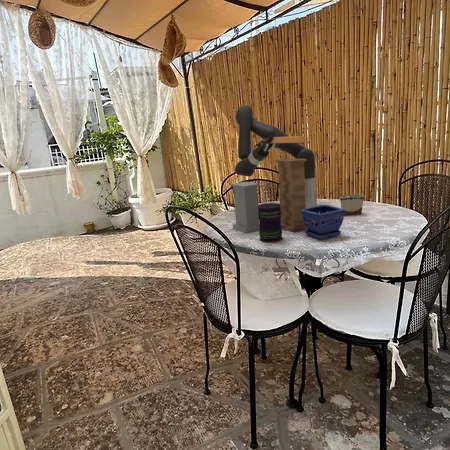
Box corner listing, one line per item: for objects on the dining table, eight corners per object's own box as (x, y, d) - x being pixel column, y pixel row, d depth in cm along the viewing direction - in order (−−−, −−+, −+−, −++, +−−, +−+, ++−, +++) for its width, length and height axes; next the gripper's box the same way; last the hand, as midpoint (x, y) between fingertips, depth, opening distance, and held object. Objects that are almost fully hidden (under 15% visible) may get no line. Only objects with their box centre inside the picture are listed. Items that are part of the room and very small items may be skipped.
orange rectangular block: (267, 143, 172) (267, 137, 171) (272, 142, 173) (272, 137, 173) (297, 142, 153) (297, 136, 153) (303, 142, 155) (303, 136, 154)
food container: (361, 212, 187) (361, 193, 184) (364, 215, 181) (364, 195, 178) (337, 213, 188) (336, 195, 186) (339, 216, 182) (339, 197, 180)
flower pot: (320, 242, 146) (319, 214, 143) (300, 235, 158) (300, 208, 155) (345, 236, 151) (345, 208, 148) (325, 229, 163) (324, 204, 160)
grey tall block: (232, 228, 178) (229, 184, 173) (249, 224, 183) (246, 181, 177) (245, 233, 168) (242, 186, 163) (263, 228, 173) (260, 183, 167)
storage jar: (279, 242, 150) (278, 208, 146) (257, 242, 153) (254, 208, 150) (284, 235, 159) (282, 202, 155) (262, 235, 162) (260, 203, 159)
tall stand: (277, 227, 173) (273, 160, 165) (293, 223, 177) (290, 158, 169) (293, 232, 163) (290, 161, 155) (310, 227, 167) (308, 158, 159)
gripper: (244, 149, 181) (260, 130, 166) (267, 146, 187) (284, 128, 172) (249, 162, 179) (266, 145, 164) (272, 159, 186) (290, 142, 171)
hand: (275, 136), depth 168 cm, fingers closed on orange rectangular block, 3 cm apart
